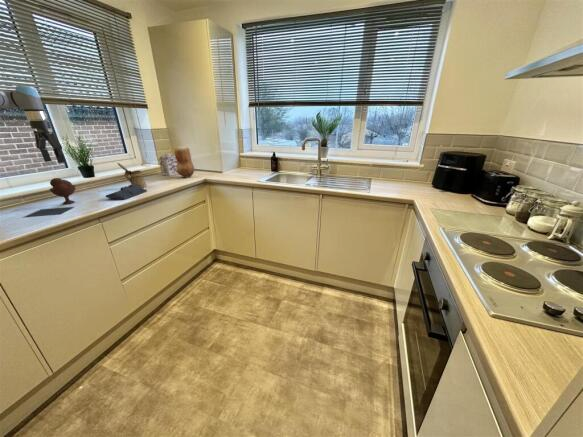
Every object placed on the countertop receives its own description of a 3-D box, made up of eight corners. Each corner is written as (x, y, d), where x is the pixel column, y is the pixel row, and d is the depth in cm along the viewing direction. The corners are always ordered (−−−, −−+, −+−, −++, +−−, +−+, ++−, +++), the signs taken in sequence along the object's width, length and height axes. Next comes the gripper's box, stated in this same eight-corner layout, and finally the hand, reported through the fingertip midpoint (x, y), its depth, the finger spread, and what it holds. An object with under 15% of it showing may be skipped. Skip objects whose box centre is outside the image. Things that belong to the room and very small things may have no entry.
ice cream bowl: (70, 206, 134) (59, 179, 128) (50, 206, 134) (39, 180, 128) (85, 200, 143) (76, 175, 138) (67, 200, 144) (57, 175, 138)
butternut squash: (175, 177, 198) (168, 146, 188) (189, 174, 208) (184, 144, 199) (185, 179, 190) (178, 147, 181) (199, 176, 201) (194, 145, 191)
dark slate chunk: (101, 199, 143) (99, 192, 142) (129, 190, 164) (127, 183, 162) (124, 200, 141) (122, 192, 140) (149, 190, 162) (147, 183, 160)
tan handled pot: (125, 187, 171) (117, 161, 164) (146, 184, 177) (140, 160, 170) (124, 190, 164) (116, 163, 157) (146, 187, 170) (140, 161, 163)
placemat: (19, 219, 116) (19, 218, 116) (41, 209, 129) (41, 209, 129) (57, 216, 119) (57, 215, 119) (74, 207, 132) (74, 206, 132)
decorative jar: (169, 176, 203) (164, 154, 197) (161, 175, 209) (156, 153, 202) (181, 173, 213) (177, 152, 206) (174, 172, 219) (170, 152, 212)
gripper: (60, 119, 122) (75, 162, 130) (35, 121, 131) (51, 160, 139) (41, 120, 115) (59, 164, 123) (17, 121, 125) (34, 162, 133)
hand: (55, 162), depth 131 cm, fingers open, 13 cm apart
